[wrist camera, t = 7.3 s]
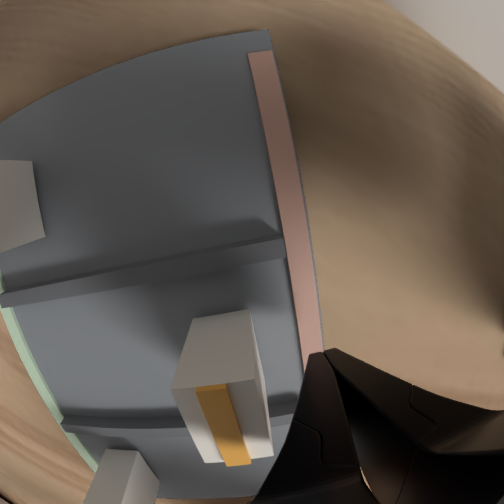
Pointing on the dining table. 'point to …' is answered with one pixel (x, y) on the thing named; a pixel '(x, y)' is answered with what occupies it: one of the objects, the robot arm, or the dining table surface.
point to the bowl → (3, 501)
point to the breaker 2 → (123, 480)
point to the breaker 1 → (18, 205)
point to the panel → (161, 249)
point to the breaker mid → (224, 390)
